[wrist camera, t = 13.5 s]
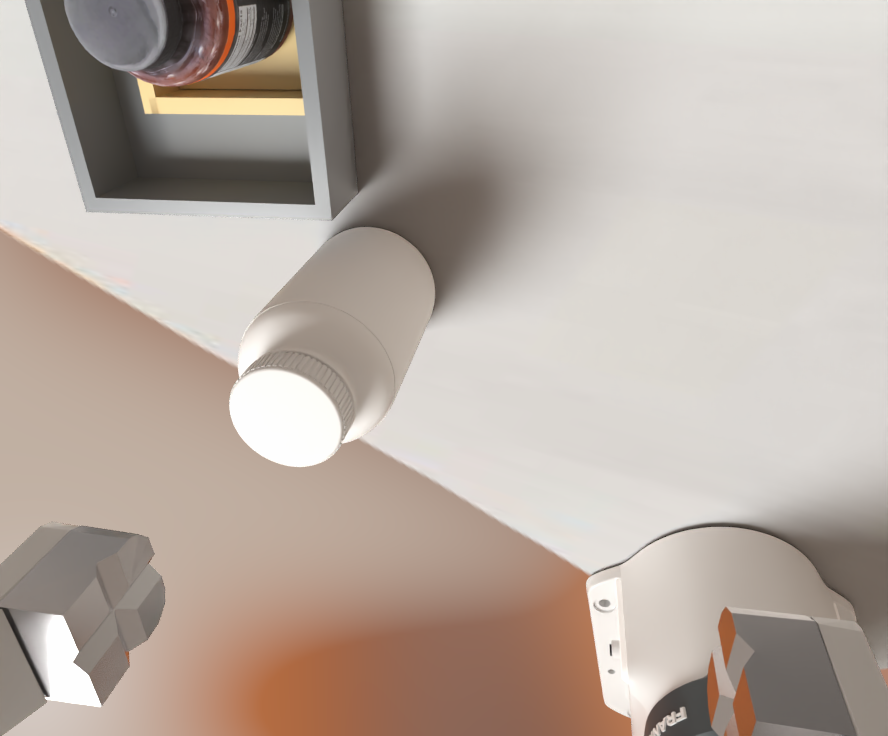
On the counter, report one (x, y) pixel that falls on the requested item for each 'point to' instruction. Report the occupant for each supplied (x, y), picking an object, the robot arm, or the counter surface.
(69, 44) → the walled box
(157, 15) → the supplement bottle
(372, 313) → the pill bottle
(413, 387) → the counter surface
